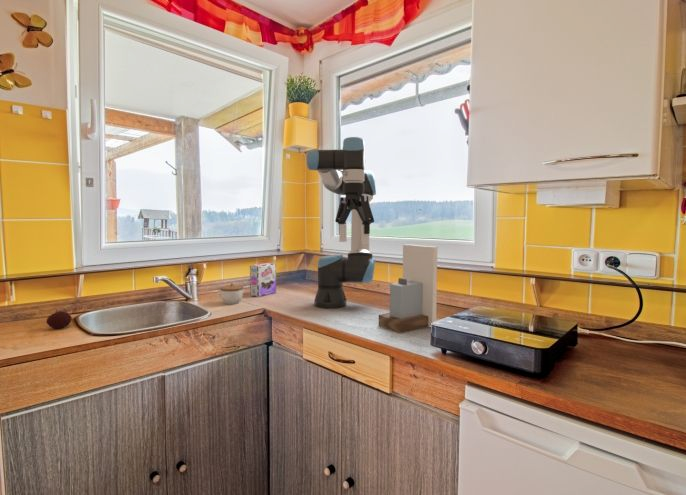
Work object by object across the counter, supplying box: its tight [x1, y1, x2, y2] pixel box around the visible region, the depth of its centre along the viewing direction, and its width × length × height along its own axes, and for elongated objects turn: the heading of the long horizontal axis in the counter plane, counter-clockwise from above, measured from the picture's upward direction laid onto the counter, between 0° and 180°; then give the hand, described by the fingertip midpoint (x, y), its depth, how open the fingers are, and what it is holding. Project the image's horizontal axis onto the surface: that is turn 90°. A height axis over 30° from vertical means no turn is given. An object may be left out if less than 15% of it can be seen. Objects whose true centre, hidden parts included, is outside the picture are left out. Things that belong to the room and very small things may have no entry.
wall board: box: [402, 243, 438, 328], centre depth 143 cm, size 16×2×30 cm, turn 34°
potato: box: [46, 310, 73, 329], centre depth 138 cm, size 8×9×6 cm
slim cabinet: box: [389, 277, 423, 319], centre depth 139 cm, size 6×11×14 cm, turn 124°
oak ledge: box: [378, 312, 429, 334], centre depth 139 cm, size 12×14×4 cm
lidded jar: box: [219, 282, 244, 305], centre depth 178 cm, size 11×11×9 cm
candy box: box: [249, 262, 277, 298], centre depth 197 cm, size 14×6×16 cm, turn 147°
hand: (353, 242), depth 133 cm, fingers open, 13 cm apart
